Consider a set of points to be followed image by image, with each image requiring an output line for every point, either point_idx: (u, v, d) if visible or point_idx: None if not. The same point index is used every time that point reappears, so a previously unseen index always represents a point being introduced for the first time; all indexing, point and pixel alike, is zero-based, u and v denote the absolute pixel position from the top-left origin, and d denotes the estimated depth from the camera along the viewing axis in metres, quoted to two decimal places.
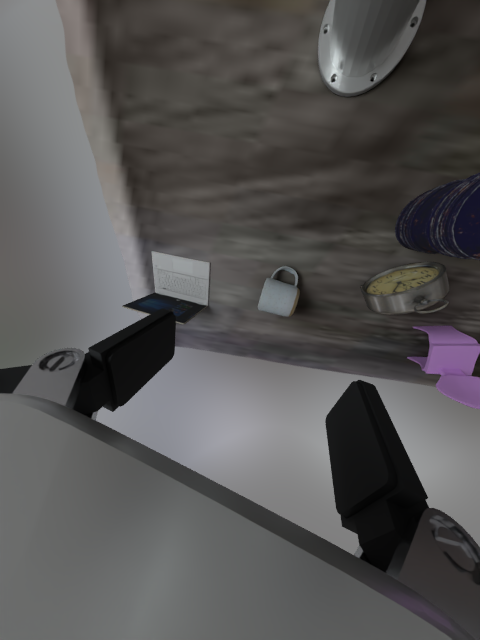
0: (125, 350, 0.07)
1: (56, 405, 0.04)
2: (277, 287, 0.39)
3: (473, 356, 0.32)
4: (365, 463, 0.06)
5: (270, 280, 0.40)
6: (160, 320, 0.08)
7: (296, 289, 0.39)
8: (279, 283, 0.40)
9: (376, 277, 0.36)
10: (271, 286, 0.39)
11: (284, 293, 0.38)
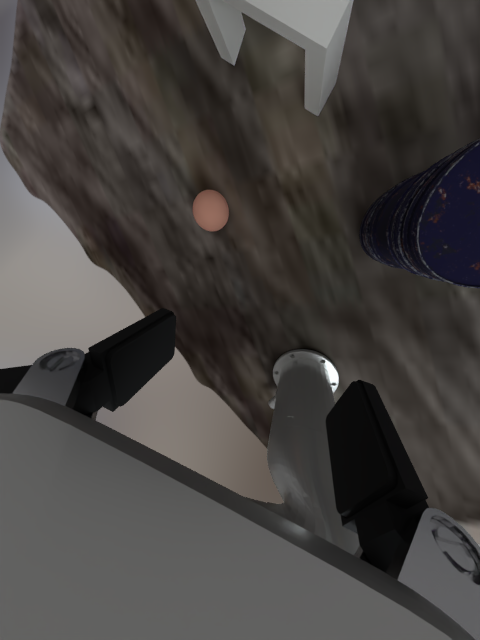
0: (125, 350, 0.07)
1: (56, 405, 0.04)
2: None
3: None
4: (365, 463, 0.06)
5: None
6: (160, 320, 0.08)
7: None
8: None
9: None
10: None
11: None
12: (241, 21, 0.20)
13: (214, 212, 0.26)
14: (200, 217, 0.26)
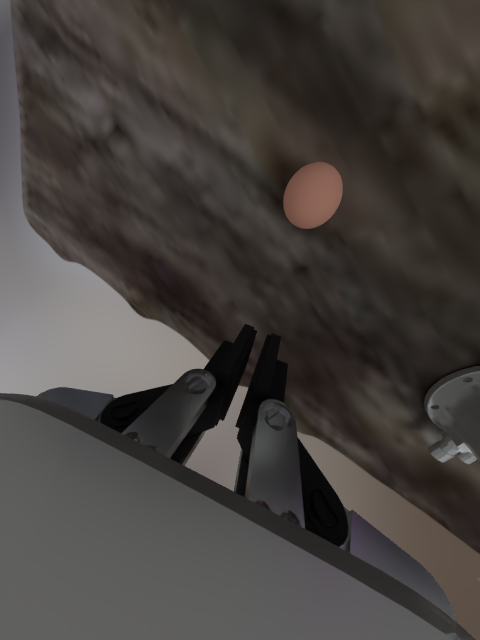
0: (239, 369, 0.07)
1: (56, 405, 0.04)
2: None
3: None
4: None
5: None
6: (250, 337, 0.09)
7: None
8: None
9: None
10: None
11: None
12: None
13: (331, 192, 0.16)
14: (307, 208, 0.17)
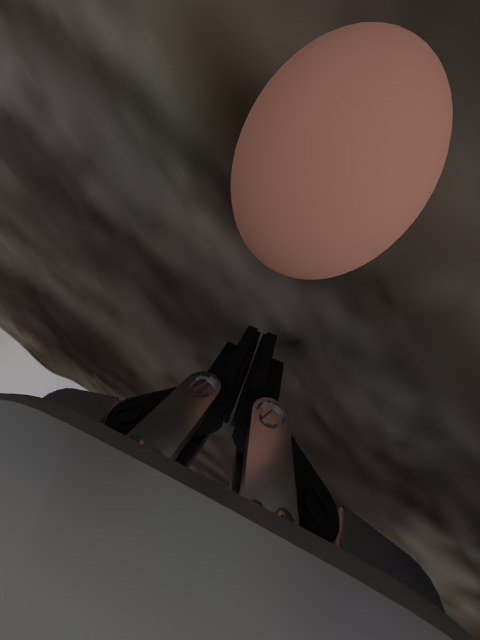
0: (244, 371, 0.07)
1: (56, 405, 0.04)
2: None
3: None
4: None
5: None
6: (254, 338, 0.09)
7: None
8: None
9: None
10: None
11: None
12: None
13: (418, 158, 0.03)
14: (303, 229, 0.04)
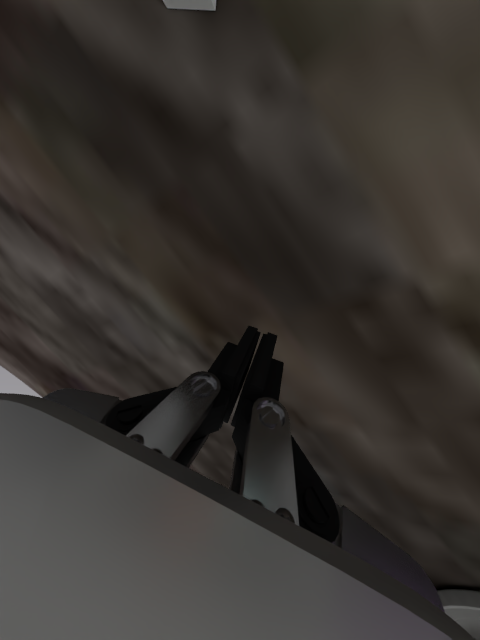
0: (244, 371, 0.07)
1: (56, 405, 0.04)
2: None
3: None
4: None
5: None
6: (254, 338, 0.09)
7: None
8: None
9: None
10: None
11: None
12: None
13: None
14: None
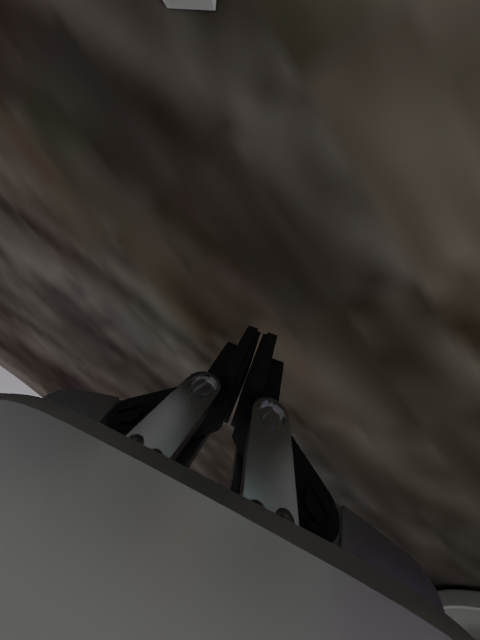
0: (244, 371, 0.07)
1: (56, 405, 0.04)
2: None
3: None
4: None
5: None
6: (254, 338, 0.09)
7: None
8: None
9: None
10: None
11: None
12: None
13: None
14: None
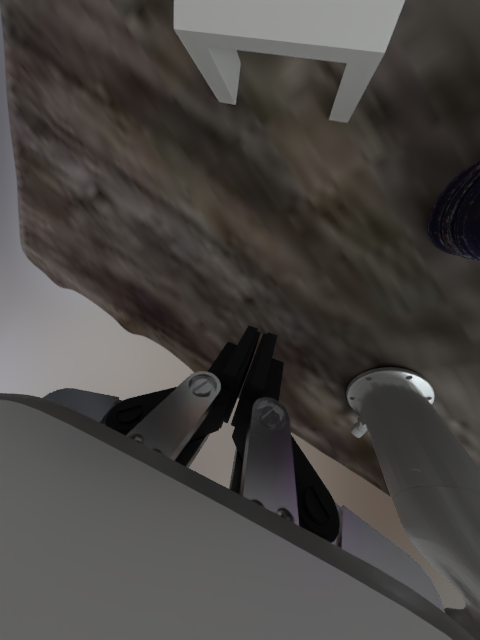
0: (244, 372, 0.07)
1: (56, 405, 0.04)
2: None
3: None
4: None
5: None
6: (254, 338, 0.09)
7: None
8: None
9: None
10: None
11: None
12: (237, 58, 0.18)
13: None
14: None
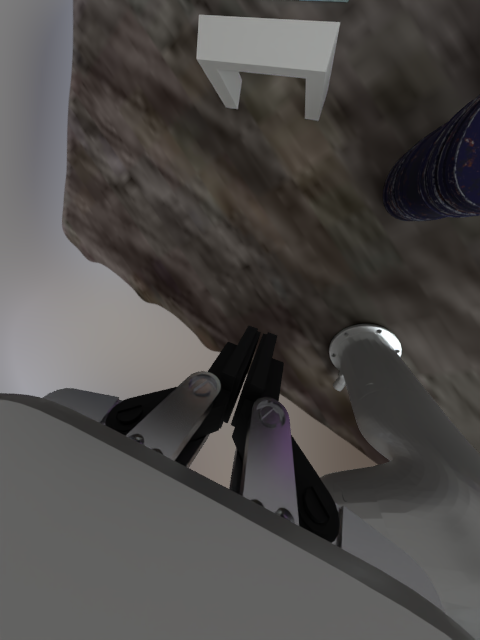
0: (244, 372, 0.07)
1: (56, 405, 0.04)
2: None
3: None
4: None
5: None
6: (254, 338, 0.09)
7: None
8: None
9: None
10: None
11: None
12: (238, 76, 0.26)
13: None
14: None
